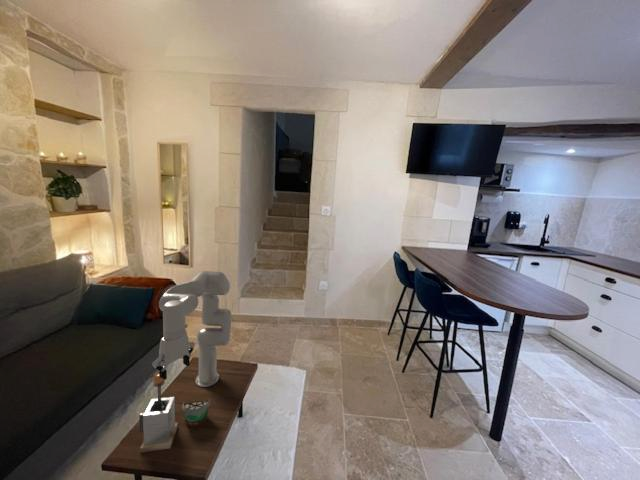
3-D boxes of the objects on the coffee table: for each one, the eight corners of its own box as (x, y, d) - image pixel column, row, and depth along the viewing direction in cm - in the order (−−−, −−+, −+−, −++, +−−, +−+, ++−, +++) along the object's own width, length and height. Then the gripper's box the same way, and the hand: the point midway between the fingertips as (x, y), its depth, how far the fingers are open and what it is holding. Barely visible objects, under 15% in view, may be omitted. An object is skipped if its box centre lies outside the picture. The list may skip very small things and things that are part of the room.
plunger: (155, 412, 113) (154, 371, 110) (168, 411, 114) (168, 370, 112) (150, 422, 108) (149, 379, 105) (164, 421, 110) (163, 378, 107)
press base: (150, 429, 117) (150, 425, 117) (177, 426, 120) (177, 422, 119) (140, 452, 106) (140, 448, 106) (170, 448, 109) (170, 444, 109)
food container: (179, 432, 117) (179, 412, 115) (182, 420, 123) (182, 401, 121) (208, 427, 120) (209, 408, 119) (210, 416, 126) (210, 398, 125)
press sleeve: (145, 427, 115) (144, 399, 113) (174, 424, 118) (174, 396, 116) (135, 446, 107) (135, 416, 104) (168, 442, 109) (167, 413, 107)
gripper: (188, 320, 111) (188, 356, 114) (145, 339, 96) (147, 380, 99) (200, 326, 108) (200, 363, 111) (158, 345, 93) (159, 388, 96)
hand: (175, 371), depth 105 cm, fingers open, 9 cm apart
